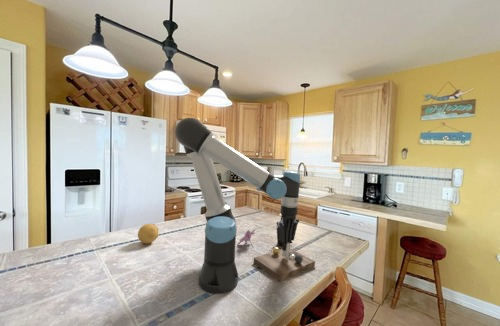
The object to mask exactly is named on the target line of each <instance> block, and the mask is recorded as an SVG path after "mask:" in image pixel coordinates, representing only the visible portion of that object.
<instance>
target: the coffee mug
mask: <svg viewBox="0 0 500 326" xmlns="http://www.w3.org/2000/svg"><path fill="white" fill-rule="evenodd" d="M276 240H277V242H276V243H277V246H278V247H280V248H282V242H280V241H279V234H278V226H277V225H276Z"/></svg>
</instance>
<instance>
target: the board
mask: <svg viewBox="0 0 500 326" xmlns="http://www.w3.org/2000/svg"><path fill="white" fill-rule="evenodd" d="M279 250H280V253H279V254H278V255H275V254H274V253H273V251H271V252H267V253H265V254H261V255H257V256H256V257H255V256H254V257H253V264H255V266H257V267H259V268H260V269H261V270H263V271H264V272H265V273H266V274H268V275H270V276H271V277H272V278H274V279H275V280H276V281H278V282H279V283H281V282H284V281H286V280H289V279H290V278H292V277H293V278H294V277H295V276H297V275H299V274H302V273H304V272H306V271H308V270H310V269H313V268H315V267H316V260H313V259H311V258H310V257H308V256H305V254H304V255H303V254H302V253H299V252H298V251H296V250H294V249H293V248H290V249H289V256H290V255H291V254H294V255H295V256H296V255H300V256H301V257H302V262H301V263H296V262H295V259H293V258H290V257H288V258H285V257H284V256H282V251H283V250H282V248H279Z"/></svg>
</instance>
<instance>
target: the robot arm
mask: <svg viewBox="0 0 500 326" xmlns="http://www.w3.org/2000/svg"><path fill="white" fill-rule="evenodd" d="M174 135H175V139H176V140H177V141H178V143H179V144H180V145H182V146H183V149H184V151H185V155H186V156H187V157H189V158H190V160H191V161H192V162H191V163H192V165H193V166H192V167H193V168H194V171H195V172H194V173H195V175H196V179H197V182H198V185H199V188H200V192H201V196H202V198H203V202H204V205H205V208H206V209H205V210H206V212H205V214H204V217H205V221H206V223H205V228H204V235H205V236H204V238H205V239H204V254H203V255H204V257H203V258H204V259H203V262H202V266H201V269H200V271H199V274H198V283H197V284H198V286H199V288H200V289H201V290H203V291H205V292H207V293H211V294H222V293H227V292H230V291H231V290H233V289H235V288H236V287H237V285H238V283H239V273H238V268H237V265H236V261H235V259H236V258H235V257H236V239H237V238H236V237H237V231H238V230H237V229H238V228H237V222H236V219H235V217H234V215H233V212H232V208H231V206H230V205H228V204H227V203H226V201H225V200H226V199H225V197H224V195H223V191H222V188H221V185H220V181H219V177H218V174H217V170H216V167H215V165H214V161H215V162H216V163H217V164H219V165H221V166H223V167H224V168H226V169H227V170H228V171H230V172H232V173H234V174H235V175H236V176H238V177H239V178H241V179H243V180H245V181H246V182H248V183H249V184H250V185H252V186H254V187H255V189H256V190H257V191H258V192H263V193H265V194H266V195H267V196H268V197H270V198H271V199H274V200H280V199H281V200H280V201H281V202H280V204H281V206H280V214H281V217H280V220H279V221H276V227H277V226H278V234H279V241H280V242H282V247H281V249H282V250H283V251H282V256H284V257H285V258H288V257H289V249H291V244H293V242H294V240H295V237H296V232H297V227H298V226H299V225H298V224H299V222H300V219H298V218H297V216H298V209H299V207H298V206H299V196H300V195H299V194H300V185H301V174H300V173H299V172H296V171H291V170H290V171H288V170H287V171H286V170H285V171H284V172H283V174H282V175H276V174H272V173H270V172H269V171H267V170H266V169H265V168H263V167H261V166H260V165H259V164H257V163H255V161H252V160H251V159H249V158H248V157H246V156H245V155H244V154H242V153H241V152H238V151H237V150H235V149H234V148H233V147H231V146H229V145H228V144H226V143H225V142H223V141H222V140H220V138H217V137H215V134H214V132H213V131H212V130H210V129H209V128H208V127H207V126H206V125H205V124H204V123H202V122H201V121H200V120H199V119H197V118H195V117H186V118H185V117H184V118H183V119H181V120H179V122H178V123H177V124H176V125H175V128H174Z"/></svg>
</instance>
